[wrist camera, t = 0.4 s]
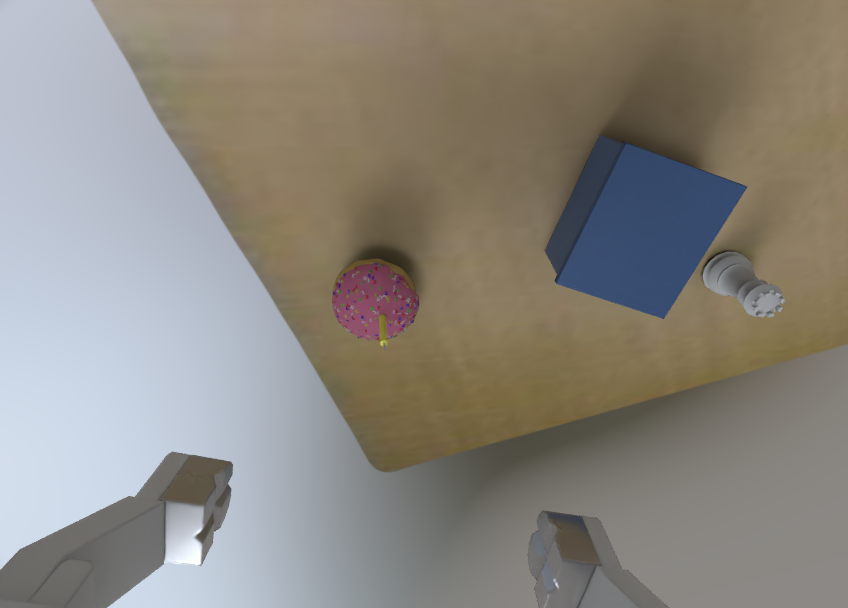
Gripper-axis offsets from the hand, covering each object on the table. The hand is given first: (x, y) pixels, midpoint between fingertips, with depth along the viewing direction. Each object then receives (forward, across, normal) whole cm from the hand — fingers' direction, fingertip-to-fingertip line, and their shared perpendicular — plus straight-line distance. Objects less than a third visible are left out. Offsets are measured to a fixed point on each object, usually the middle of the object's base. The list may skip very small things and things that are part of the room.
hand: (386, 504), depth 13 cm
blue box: (+38, -20, -5) cm, 43 cm away
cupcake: (+40, +2, +8) cm, 40 cm away
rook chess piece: (+38, -32, -1) cm, 50 cm away
